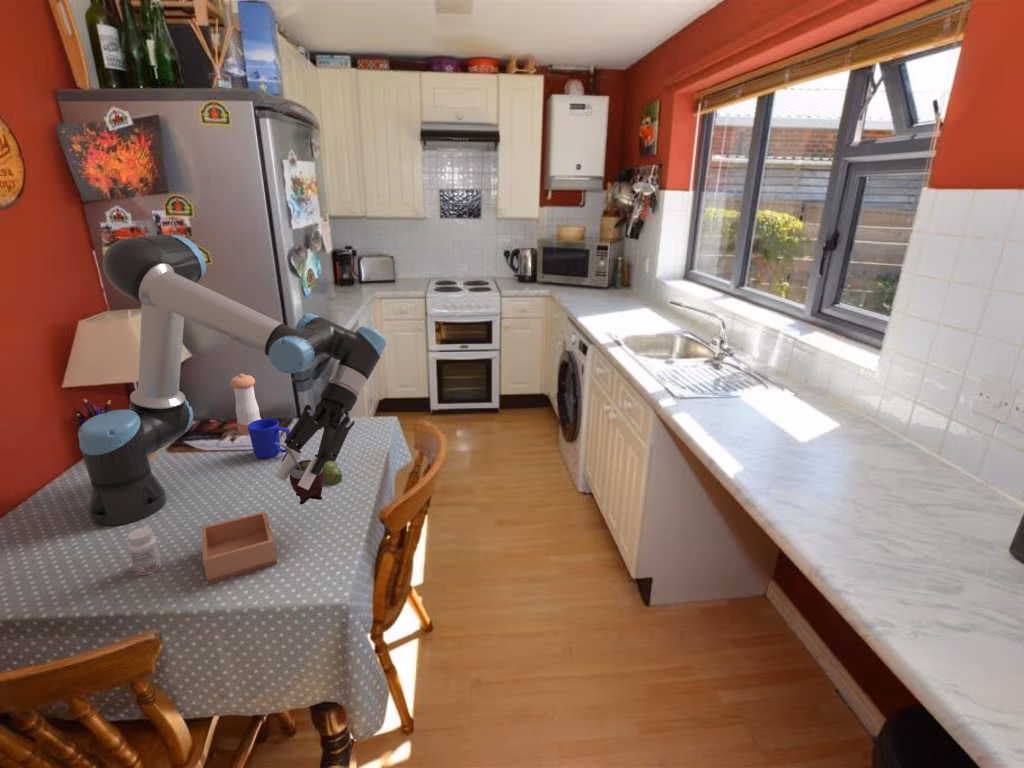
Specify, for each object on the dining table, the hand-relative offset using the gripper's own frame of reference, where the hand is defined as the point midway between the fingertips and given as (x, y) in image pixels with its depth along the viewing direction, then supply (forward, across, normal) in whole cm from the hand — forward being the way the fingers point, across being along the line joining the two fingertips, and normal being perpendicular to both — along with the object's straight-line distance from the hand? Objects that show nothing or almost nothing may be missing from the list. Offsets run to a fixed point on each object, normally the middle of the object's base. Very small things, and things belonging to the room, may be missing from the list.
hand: (291, 482), depth 113 cm
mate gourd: (+2, 0, -7) cm, 7 cm away
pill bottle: (+26, +18, +5) cm, 32 cm away
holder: (+17, +6, -3) cm, 19 cm away
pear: (-6, +16, -27) cm, 32 cm away
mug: (-6, +39, -27) cm, 48 cm away
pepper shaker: (-12, +61, -33) cm, 71 cm away
